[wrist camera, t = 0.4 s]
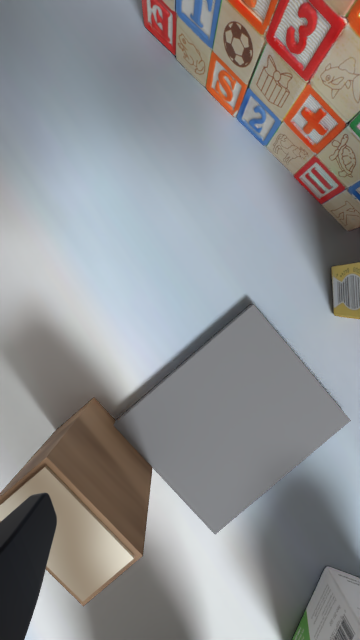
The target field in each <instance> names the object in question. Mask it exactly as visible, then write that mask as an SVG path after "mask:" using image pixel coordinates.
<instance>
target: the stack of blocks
mask: <svg viewBox="0 0 360 640" xmlns="http://www.w3.org/2000/svg"><path fill="white" fill-rule="evenodd" d="M142 10H143V19H144V26H145V27H146V28H147V29H148V30H149V31H150V32H151V33H152V34H153V35H154V36H155V37H156V38H157V39H158V40H159V41H160V42H161V43H162V44H163V45H164V46H165V47H166V48H167V49H168V50H170V51H171V52H172V54H173V55H176V59H177V60H178V61H179V62H180V63H181V64H182V65H183V66H184V68H185V69H186V70H187V71H188V72H189V73H190V74H191V75H192V76H193V77H194V78H195V79H196V80H197V81H198V82H199V83H201V84H202V85H203V86H204V87H206V89H207V90H208V91H209V92H210V94H211V95H212V96H213V97H214V98H215V99H216V100H217V101H218V102H219V103H220V104H221V105H222V106H223V107H224V108H225V109H226V110H227V111H228V112H229V113H230V114H231V115H232V116H233V117H236V118H237V119H238V121H239V122H240V123H241V124H242V125H243V126H244V127H246V128H247V129H248V131H249V132H250V133H251V134H253V135H254V136H255V138H256V139H258V140H259V141H260V143H261V144H262V145H264V146H266V147H267V149H268V150H269V151H270V152H271V153H272V154H273V155H274V156H275V157H276V158H277V159H278V160H279V161H280V162H281V163H282V164H283V165H284V166H285V167H286V168H287V169H288V170H289V171H290V172H291V173H292V174H293V175H294V177H295V178H296V179H297V180H298V181H299V183H300V184H301V185H302V186H303V187H305V188H306V189H307V190H308V191H309V193H310V194H311V195H312V196H313V197H314V198H315V199H316V200H317V201H318V202H319V203H320V204H322V206H323V207H324V208H325V209H326V210H327V211H328V212H329V213H330V214H331V215H332V216H333V217H334V218H335V219H336V220H337V221H338V222H339V223H340V224H341V225H342V226H343V227H344V228H345V229H346V230H347V231H351V230H353V229H356V228H358V227H360V0H142Z"/></svg>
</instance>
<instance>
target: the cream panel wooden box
mask: <svg viewBox="0 0 360 640" xmlns="http://www.w3.org/2000/svg"><path fill="white" fill-rule="evenodd" d="M114 423H115V419H114V418H113V417H112V416H111V415H110V414H109V413H108V412H107V411H106V410H105V409H104V408H103V407H102V405H101V404H100V403H99V402H98V401H97V400H96V399H95V398H93V399H91V400H90V401H89V402H88V403H87V404H86V405H85V406H83V407H82V408H81V409H80V410H79V411H78V412H76V413H75V414H74V415H73V416H72V417H71V418H70V419H68V420H67V421H66V422H65V423H64V424H63V425H61V426H60V427H59V428H58V429H57V430H56V431H55V432H54V433H53V434H52V435H51V436H50V438H49V439H48V440H47V441H46V442H45V443H44V444H43V445H42V447H41V448H40V449H39V450H38V451H37V452H36V453H35V454H34V456H33V457H32V458H31V459H30V460H29V461H28V462H27V463H26V465H25V466H24V467H23V468H22V469H21V470H20V471H19V472H18V474H17V475H16V476H15V477H14V478H13V479H12V480H11V481H10V483H9V484H8V485H7V486H6V487H5V488H4V489H3V490H2V492H1V493H0V522H1V521H2V520H3V519H4V518H6V517H7V516H8V515H9V514H10V513H11V512H12V511H14V510H15V509H16V508H17V507H18V506H19V505H20V504H22V503H23V502H24V501H25V500H26V499H27V498H28V497H30V496H31V495H34V494H39V493H48V494H49V496H50V498H51V501H52V504H53V507H54V510H55V513H56V516H57V526H56V530H55V534H54V538H53V542H52V546H51V550H50V554H49V558H48V562H47V566H46V570H47V571H48V572H49V573H50V574H51V575H52V576H53V577H54V578H55V579H56V580H57V581H58V582H59V583H60V584H61V585H62V586H63V587H64V588H65V589H66V590H67V591H68V592H69V593H70V594H71V595H72V596H74V597H75V598H76V599H77V600H78V601H79V602H80V603H81V604H82V605H83V606H84V605H85V604H87V603H88V602H89V601H90V600H91V599H93V598H94V597H95V596H96V595H97V594H98V593H100V592H101V591H102V590H103V589H104V588H106V587H107V586H108V585H109V584H110V583H111V582H113V581H114V580H115V579H116V578H117V577H118V576H120V575H121V574H122V573H123V572H124V571H126V570H127V569H128V568H129V567H130V566H131V565H133V564H134V563H135V562H136V561H137V560H139V559H140V558H141V557H142V556H143V550H144V541H145V531H146V522H147V513H148V504H149V494H150V485H151V476H152V467H151V465H150V464H149V463H148V462H147V461H146V460H145V459H144V458H143V457H142V456H141V455H140V454H139V453H138V452H137V450H136V449H135V448H134V447H133V446H132V445H131V444H130V443H129V442H128V441H127V440H126V439H125V438H124V436H123V435H122V434H121V433H120V432H119V431H118V430H117V429H116V428H115V427H114V426H113V425H114Z"/></svg>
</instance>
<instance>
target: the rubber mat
mask: <svg viewBox="0 0 360 640" xmlns="http://www.w3.org/2000/svg"><path fill="white" fill-rule="evenodd" d="M350 421H351V420H350V419H349V418H348V417H347V415H346V414H345V413H344V412H343V411H342V409H341V408H340V407H339V406H338V405H337V403H336V402H335V401H334V400H333V399H332V398H331V396H330V395H329V394H328V393H327V392H326V390H325V389H324V388H323V387H322V386H321V384H320V383H319V382H318V381H317V380H316V378H315V377H314V376H313V375H312V374H311V372H310V371H309V370H308V369H307V368H306V366H305V365H304V364H303V363H302V362H301V360H300V359H299V358H298V357H297V356H296V354H295V353H294V352H293V351H292V350H291V348H290V347H289V346H288V345H287V344H286V342H285V341H284V340H283V339H282V338H281V336H280V335H279V334H278V333H277V332H276V330H275V329H274V328H273V327H272V326H271V324H270V323H269V322H268V321H267V320H266V318H265V317H264V316H263V315H262V314H261V312H260V311H259V310H258V309H257V308H256V306H255V305H254V304H250V305H249V306H248V307H247V308H246V309H244V310H243V311H242V312H241V313H240V314H239V315H237V316H236V317H235V318H234V319H233V320H232V321H231V322H229V323H228V324H227V325H226V326H225V327H224V328H222V329H221V330H220V331H219V332H218V333H217V334H215V335H214V336H213V337H212V338H211V339H210V340H208V341H207V342H206V343H205V344H204V345H203V346H201V347H200V348H199V349H198V350H197V351H196V352H195V353H193V354H192V355H191V356H190V357H189V358H188V359H186V360H185V361H184V362H183V363H182V364H181V365H179V366H178V367H177V368H176V369H175V370H174V371H172V372H171V373H170V374H169V375H168V376H167V377H165V378H164V379H163V380H162V381H161V382H160V383H159V384H157V385H156V386H155V387H154V388H153V389H152V390H150V391H149V392H148V393H147V394H146V395H145V396H143V397H142V398H141V399H140V400H139V401H138V402H136V403H135V404H134V405H133V406H132V407H131V408H129V409H128V410H127V411H126V412H125V413H124V414H123V415H121V416H120V417H119V418H118V419H117V420H116V421H115V423H114V425H113V426H114V427H115V428H116V429H117V430H118V431H119V432H120V433H121V434H122V435H123V436H124V438H125V439H126V440H127V441H128V442H129V443H130V444H131V445H132V446H133V447H134V448H135V449H136V450H137V452H138V453H139V454H140V455H141V456H142V457H143V458H144V459H145V460H146V461H147V462H148V463H149V464H150V465H151V467H152V468H153V469H154V470H155V471H156V472H157V473H158V474H159V475H160V476H161V477H162V478H163V479H164V480H165V482H166V483H167V484H168V485H169V486H170V487H171V488H172V489H173V490H174V491H175V492H176V493H177V494H178V495H179V497H180V498H181V499H182V500H183V501H184V502H185V503H186V504H187V505H188V506H189V507H190V508H191V509H192V510H193V512H194V513H195V514H196V515H197V516H198V517H199V518H200V519H201V520H202V521H203V522H204V523H205V524H206V525H207V527H208V528H209V529H210V530H211V531H212V532H213V533H214V534H216V533H218V532H219V531H220V530H221V529H222V528H223V527H225V526H226V525H227V524H228V523H229V522H231V521H232V520H233V519H234V518H235V517H237V516H238V515H239V514H240V513H241V512H242V511H244V510H245V509H246V508H247V507H248V506H250V505H251V504H252V503H253V502H254V501H256V500H257V499H258V498H259V497H260V496H262V495H263V494H264V493H265V492H266V491H267V490H269V489H270V488H271V487H272V486H273V485H275V484H276V483H277V482H278V481H279V480H281V479H282V478H283V477H284V476H285V475H286V474H288V473H289V472H290V471H291V470H292V469H294V468H295V467H296V466H297V465H298V464H300V463H301V462H302V461H303V460H304V459H306V458H307V457H308V456H309V455H310V454H311V453H313V452H314V451H315V450H316V449H317V448H319V447H320V446H321V445H322V444H323V443H325V442H326V441H327V440H328V439H329V438H330V437H332V436H333V435H334V434H335V433H336V432H338V431H339V430H340V429H341V428H342V427H344V426H345V425H346V424H347V423H348V422H350Z"/></svg>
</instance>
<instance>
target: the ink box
mask: <svg viewBox="0 0 360 640" xmlns="http://www.w3.org/2000/svg"><path fill="white" fill-rule="evenodd" d="M292 640H360V578H358V577H356V576H353V575H351V574H348V573H345V572H343V571H340V570H337V569H334V568H332V567H329V566H327V567H326V568H325V569H324V571H323V573H322V575H321V578H320V580H319V582H318V584H317V587H316V589H315V591H314V593H313V595H312V597H311V600H310V602H309V604H308V606H307V608H306V610H305V612H304V615H303V617H302V619H301V621H300V624H299V626H298V628H297V630H296V632H295V634H294V636H293V639H292Z"/></svg>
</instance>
